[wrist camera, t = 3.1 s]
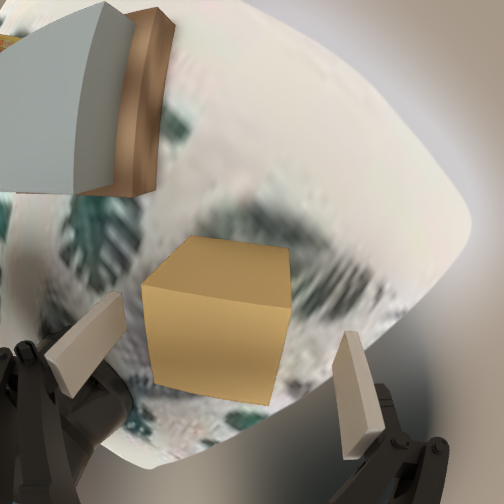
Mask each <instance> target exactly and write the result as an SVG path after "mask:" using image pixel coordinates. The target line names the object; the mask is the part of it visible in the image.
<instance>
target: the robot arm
mask: <svg viewBox="0 0 504 504" xmlns="http://www.w3.org/2000/svg"><path fill="white" fill-rule="evenodd" d="M126 330H127V326H126V320H125V314H124V307H123V300H122V293H119V292H115V291H111V292H109V293H108V294H107V295H106V296H105V297H104V298H103V299H102V300H101V301H99V302H98V303H97V304H96V305H95V306H94V307H93V308H92V309H91V310H90V311H89V312H87V313H86V314H85V315H84V316H83V317H82V318H81V319H80V320H79V321H78V322H77V323H76V324H75V325H74V326H71V325H69V326H67V327H65V328H63V329H62V330H61V331H60V332H59V333H52V334H49V335H47V336H46V337H45V338H44V339H43V340H42V341H41V342H40V343H39V344H38V345H37V346H36V347H35V344H34V343H33V342H32V341H29V340H25V341H21V342H19V343H18V344H17V345H16V346H15V348H14V352H15V354H16V356H17V357H16V356H13V354H12V352H11V350H10V349H9V348H6V347H3V348H0V504H81V503H80V501H79V498H78V495H77V492H76V486H77V484H78V482H79V480H80V478H81V475H82V473H83V471H84V469H85V467H86V465H87V463H88V461H89V459H90V457H91V456H92V454H93V452H94V450H95V448H96V447H97V446H98V445H99V444H100V443H102V442H103V441H104V440H105V439H107V438H108V437H109V436H110V435H111V434H113V433H114V432H115V431H116V430H117V429H119V428H120V427H121V426H122V425H123V424H124V423H125V422H126V421H127V419H128V417H129V415H130V413H131V411H132V409H133V401H132V398H131V395H130V393H129V391H128V389H127V388H126V386H125V384H124V383H123V382H122V380H121V379H120V378H119V376H118V375H117V374H116V373H115V372H114V371H113V370H112V369H111V368H110V367H109V365H107V364H106V363H105V362H104V361H103V359H104V357H105V356H106V355H107V354H108V352H109V351H110V350H111V348H112V347H113V346H114V345H115V343H116V342H117V341H118V340H119V339H120V337H121V336H122V335H123V334H124V332H125V331H126ZM332 371H333V377H334V384H335V391H336V398H337V406H338V413H339V422H340V430H341V439H342V449H343V459H344V460H348V459H359V458H360V457H361V456H362V455H363V454H364V457H365V461H364V462H363V463H362V464H361V465H360V466H359V467H358V468H357V470H356V472H355V473H354V474H353V475H352V476H351V477H350V479H349V480H348V481H347V482H346V483H345V484H344V485H343V487H342V488H341V489H340V490H339V491H338V492H337V493H336V494H335V496H333V498H331V499H330V501H329V502H328V503H327V504H375V503H376V502H377V501H378V499H379V498H380V496H381V495H382V494H383V492H384V491H385V489H386V488H387V486H388V485H389V483H390V482H391V480H392V479H393V477H394V478H396V480H395V483H394V486H393V489H392V492H391V494H390V497H389V500H388V502H387V504H440V501H441V496H442V492H443V488H444V482H445V477H446V472H447V465H448V458H449V445H448V443H447V441H446V440H445V439H443V438H441V437H434V438H431V439H430V440H429V441H428V442H420V441H414V440H411V438H410V436H409V435H408V434H406V433H405V432H403V431H402V430H401V427H400V424H399V420H398V417H397V413H396V410H395V407H394V404H393V401H392V397H391V394H390V391H389V390H388V388H387V387H386V386H385V385H384V384H374V383H373V380H372V376H371V373H370V370H369V366H368V363H367V360H366V357H365V354H364V350H363V347H362V344H361V341H360V338H359V335H358V332H353V331H345V332H344V335H343V338H342V340H341V343H340V346H339V349H338V351H337V354H336V357H335V359H334V362H333V364H332Z"/></svg>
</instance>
